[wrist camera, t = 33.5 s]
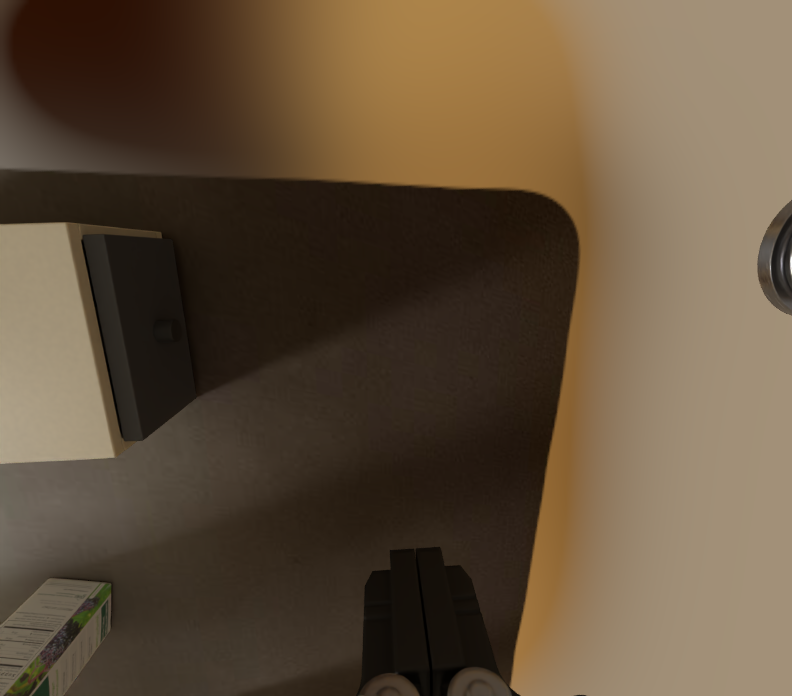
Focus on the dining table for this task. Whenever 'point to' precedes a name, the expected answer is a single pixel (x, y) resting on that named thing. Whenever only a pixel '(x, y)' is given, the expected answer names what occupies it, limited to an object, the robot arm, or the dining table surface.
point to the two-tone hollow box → (141, 329)
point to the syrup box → (53, 637)
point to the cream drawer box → (53, 348)
